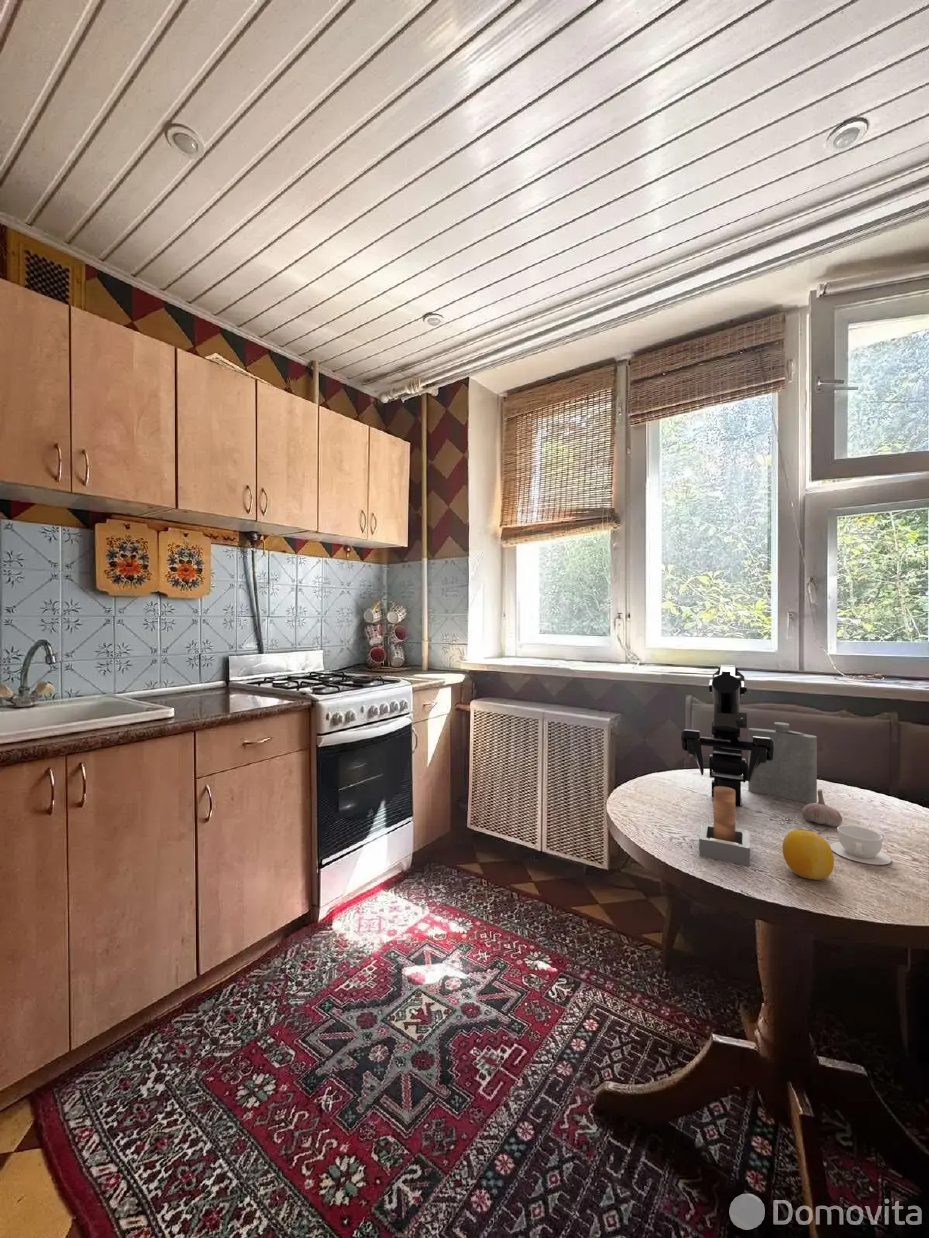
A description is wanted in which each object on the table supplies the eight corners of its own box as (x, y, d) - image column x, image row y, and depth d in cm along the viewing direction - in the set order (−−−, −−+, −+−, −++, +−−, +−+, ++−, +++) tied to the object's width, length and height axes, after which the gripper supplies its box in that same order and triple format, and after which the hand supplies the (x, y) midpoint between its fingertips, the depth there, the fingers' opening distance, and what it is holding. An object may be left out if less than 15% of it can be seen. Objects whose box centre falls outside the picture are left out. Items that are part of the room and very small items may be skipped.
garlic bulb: (795, 819, 120) (795, 786, 120) (816, 815, 123) (816, 783, 123) (828, 831, 113) (828, 796, 113) (849, 827, 116) (849, 793, 116)
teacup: (831, 839, 109) (831, 818, 109) (891, 853, 103) (890, 831, 103) (827, 856, 101) (827, 833, 101) (892, 872, 95) (892, 848, 95)
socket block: (748, 847, 105) (748, 830, 105) (749, 866, 97) (749, 847, 97) (701, 838, 109) (701, 821, 109) (699, 855, 101) (699, 837, 101)
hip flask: (747, 791, 140) (747, 720, 140) (750, 787, 143) (750, 718, 143) (816, 804, 129) (816, 728, 130) (817, 800, 133) (817, 725, 133)
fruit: (845, 889, 89) (845, 845, 89) (796, 885, 90) (796, 841, 90) (818, 865, 97) (818, 824, 97) (773, 862, 99) (773, 822, 99)
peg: (730, 847, 105) (730, 786, 105) (738, 856, 101) (738, 793, 101) (710, 846, 105) (710, 785, 105) (717, 855, 101) (718, 792, 101)
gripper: (681, 695, 119) (676, 752, 109) (773, 701, 110) (776, 764, 100) (685, 722, 126) (680, 777, 116) (771, 730, 117) (774, 791, 107)
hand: (725, 777), depth 110 cm, fingers open, 9 cm apart
